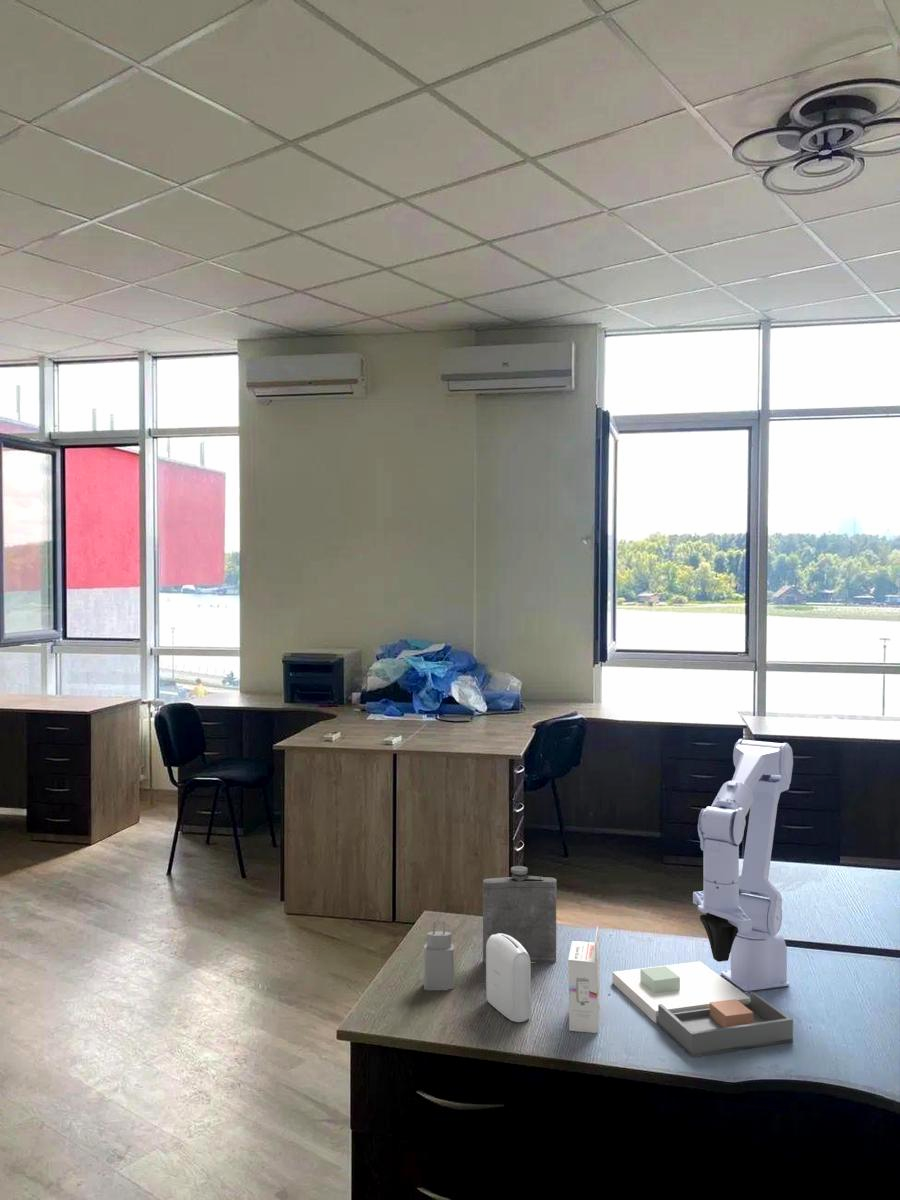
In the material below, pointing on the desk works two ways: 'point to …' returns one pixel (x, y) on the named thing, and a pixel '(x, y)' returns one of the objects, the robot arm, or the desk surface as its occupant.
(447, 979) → the power adapter
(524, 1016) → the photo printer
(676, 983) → the sage-green tile
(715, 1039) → the box
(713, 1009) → the terracotta tile
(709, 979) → the white board
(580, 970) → the ink cartridge box
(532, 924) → the flask
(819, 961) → the desk surface
